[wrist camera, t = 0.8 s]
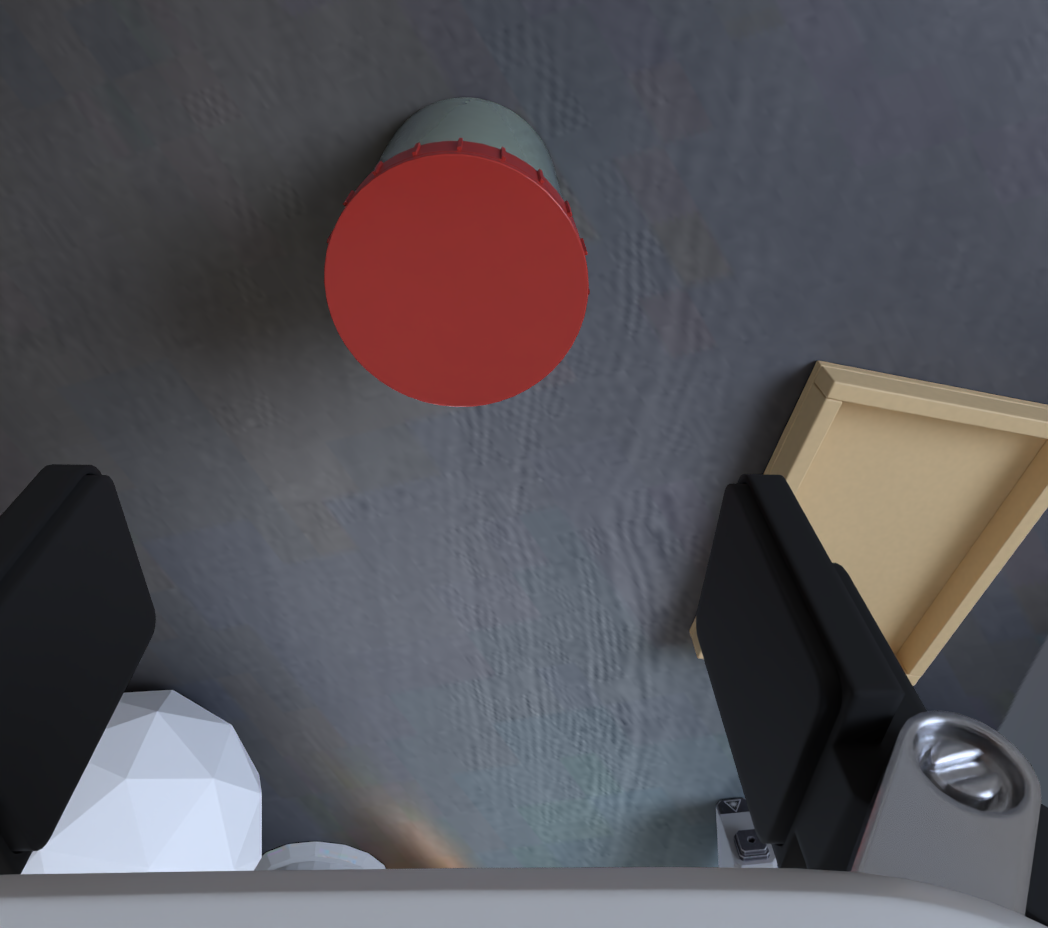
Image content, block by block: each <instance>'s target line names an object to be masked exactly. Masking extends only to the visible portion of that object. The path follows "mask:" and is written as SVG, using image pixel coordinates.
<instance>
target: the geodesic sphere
mask: <svg viewBox="0 0 1048 928" xmlns="http://www.w3.org/2000/svg"><path fill="white" fill-rule="evenodd" d="M261 858H262V792H261V785H260V778H259V773H258V771H257V770H256V768H255V766H254V764H253V762H252V760H251V759H250V757H249V755H248V753H247V751H246V750H245V748H244V746H243V744H242V742H241V740H240V739H239V737H238V735H237V733H236V731H235V729H234V728H233V726H232V725H231V724H229V723H227V722H226V721H224V720H222V719H221V718H219V717H217V716H216V715H214V714H212V713H211V712H209V711H207V710H206V709H204V708H202V707H201V706H199V705H197V704H196V703H194V702H192V701H191V700H189V699H187V698H186V697H184V696H182V695H181V694H179V693H177V692H176V691H174V690H160V691H143V692H127V693H123V695H122V697H121V699H120V701H119V703H118V705H117V707H116V709H115V711H114V713H113V715H112V717H111V719H110V721H109V723H108V725H107V727H106V729H105V731H104V733H103V735H102V737H101V739H100V741H99V743H98V745H97V747H96V749H95V751H94V753H93V755H92V757H91V759H90V761H89V763H88V765H87V767H86V769H85V770H84V772H83V774H82V776H81V778H80V780H79V782H78V784H77V786H76V788H75V790H74V792H73V794H72V796H71V798H70V800H69V802H68V804H67V806H66V808H65V810H64V812H63V814H62V816H61V818H60V820H59V822H58V824H57V826H56V828H55V830H54V832H53V834H52V836H51V838H50V839H49V841H48V843H47V844H46V845H45V846H44V847H43V848H42V849H40V850H39V851H33V852H32V853H31V855H30V857H29V859H28V861H27V863H26V865H25V867H24V869H23V871H22V873H21V874H70V873H131V872H192V871H254V869H255V868H256V866H257V864H258V863H259V861H260V859H261Z"/></svg>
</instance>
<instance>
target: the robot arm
mask: <svg viewBox="0 0 1048 928" xmlns="http://www.w3.org/2000/svg"><path fill="white" fill-rule="evenodd" d="M155 622H156V616H155V610H154V606H153V603H152V600H151V597H150V594H149V591H148V588H147V585H146V582H145V578H144V575H143V572H142V569H141V566H140V563H139V560H138V557H137V554H136V551H135V547H134V544H133V541H132V538H131V535H130V532H129V529H128V526H127V523H126V520H125V516H124V513H123V510H122V507H121V504H120V501H119V498H118V495H117V492H116V489H115V485H114V483H113V481H112V479H111V478H110V477H109V476H106V475H101V473H100V471H99V470H98V469H97V468H96V467H95V466H92V465H55V464H52V465H47V466H46V467H44V468H43V469H42V470H41V471H40V472H39V473H38V474H37V476H36V477H35V478H34V479H33V480H32V481H31V482H30V483H29V485H28V486H27V487H26V488H25V489H24V490H23V491H22V493H21V494H20V495H19V496H18V497H17V498H16V499H15V500H14V502H13V503H12V504H11V505H10V506H9V507H8V508H7V509H6V511H5V512H4V513H3V514H2V515H1V516H0V928H1048V808H1047V807H1046V806H1044V805H1042V804H1041V790H1040V782H1039V780H1038V778H1037V776H1036V774H1035V772H1034V770H1033V768H1032V765H1031V764H1030V763H1029V762H1028V760H1027V759H1026V758H1025V757H1024V756H1023V754H1022V753H1021V752H1020V751H1019V749H1018V748H1017V747H1016V746H1014V745H1013V744H1012V743H1011V742H1010V741H1009V740H1007V739H1006V738H1005V737H1004V736H1003V735H1001V734H1000V733H999V732H997V731H995V730H994V729H992V728H990V727H989V726H987V725H985V724H983V723H982V722H980V721H978V720H975V719H972V718H969V717H967V716H964V715H961V714H958V713H952V712H945V711H938V710H937V711H929V712H927V710H926V709H925V707H924V705H923V703H922V702H921V700H920V698H919V696H918V695H917V693H916V691H915V689H914V688H913V686H912V684H911V682H910V681H909V679H908V677H907V675H906V674H905V672H904V670H903V668H902V667H901V665H900V663H899V661H898V660H897V658H896V656H895V654H894V653H893V651H892V649H891V647H890V646H889V644H888V642H887V641H886V639H885V637H884V635H883V634H882V632H881V630H880V628H879V627H878V625H877V623H876V621H875V620H874V618H873V616H872V614H871V613H870V611H869V609H868V607H867V606H866V604H865V602H864V600H863V599H862V597H861V595H860V593H859V592H858V590H857V588H856V586H855V585H854V583H853V581H852V579H851V578H850V576H849V574H848V573H847V572H846V570H845V569H844V568H843V566H841V565H839V564H837V563H832V562H831V560H830V558H829V556H828V554H827V553H826V551H825V549H824V547H823V545H822V544H821V542H820V540H819V538H818V536H817V535H816V533H815V531H814V529H813V527H812V526H811V524H810V522H809V520H808V518H807V517H806V515H805V513H804V511H803V510H802V508H801V506H800V504H799V502H798V501H797V499H796V497H795V495H794V493H793V492H792V490H791V488H790V486H789V484H788V483H787V481H786V479H785V478H784V477H783V476H782V475H764V474H744V475H742V476H741V477H740V478H739V480H738V483H737V484H729V485H728V486H727V487H726V490H725V493H724V497H723V501H722V506H721V510H720V514H719V519H718V523H717V527H716V532H715V536H714V540H713V545H712V549H711V553H710V558H709V562H708V566H707V571H706V575H705V579H704V584H703V588H702V592H701V597H700V601H699V605H698V610H697V615H696V631H697V637H698V641H699V644H700V647H701V651H702V654H703V657H704V661H705V664H706V668H707V671H708V674H709V678H710V681H711V684H712V688H713V691H714V694H715V698H716V701H717V705H718V708H719V711H720V715H721V718H722V721H723V725H724V728H725V731H726V735H727V738H728V741H729V745H730V748H731V752H732V755H733V758H734V762H735V765H736V768H737V772H738V775H739V778H740V782H741V785H742V789H743V792H744V795H745V799H746V802H747V805H748V809H749V812H750V815H751V819H752V822H753V825H754V829H755V832H756V835H757V837H758V839H759V841H760V842H761V843H762V844H771V845H772V848H773V851H774V855H775V858H776V861H777V864H778V868H716V867H583V868H440V869H345V870H263V871H192V872H131V873H70V874H21V873H22V871H23V869H24V867H25V865H26V863H27V861H28V859H29V857H30V855H31V853H32V852H33V851H39V850H40V849H42V848H43V847H44V846H45V845H46V844H47V843H48V841H49V839H50V838H51V836H52V834H53V832H54V830H55V828H56V826H57V824H58V822H59V820H60V818H61V816H62V814H63V812H64V810H65V808H66V806H67V804H68V802H69V800H70V798H71V796H72V794H73V792H74V790H75V788H76V786H77V784H78V782H79V780H80V778H81V776H82V774H83V772H84V770H85V769H86V767H87V765H88V763H89V761H90V759H91V757H92V755H93V753H94V751H95V749H96V747H97V745H98V743H99V741H100V739H101V737H102V735H103V733H104V731H105V729H106V727H107V725H108V723H109V721H110V719H111V717H112V715H113V713H114V711H115V709H116V707H117V705H118V703H119V701H120V699H121V697H122V695H123V693H124V691H125V689H126V687H127V685H128V683H129V681H130V679H131V677H132V675H133V673H134V671H135V669H136V667H137V665H138V663H139V661H140V659H141V657H142V655H143V653H144V651H145V649H146V648H147V646H148V644H149V642H150V640H151V638H152V635H153V633H154V629H155Z"/></svg>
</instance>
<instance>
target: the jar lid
mask: <svg viewBox="0 0 1048 928" xmlns="http://www.w3.org/2000/svg"><path fill="white" fill-rule="evenodd" d="M343 205H344V206H346V207H345V208H344V210H343V212H342V213H341V215H340V217H339V218H338V221H337V223H336V225H335V227H334V229H333V231H332V233H331V234H330V236H329V238H328V239H327V243H329V244H328V247H327V252H326V259H325V266H324V285H325V292H326V300H327V303H328V307H329V311H330V314H331V317H332V320H333V322H334V324H335V327H336V329H337V331H338V333H339V335H340V337H341V338H342V340H343V342H344V344H345V345H346V347H347V348H348V349H349V351H350V352H351V353H352V355H353V356H354V357H355V359H356V360H357V361H358V362H359V363H360V364H361V365H362V366H363V367H364V368H365V369H366V370H367V371H368V372H370V373H371V374H372V375H373V376H374V377H376V378H377V379H378V380H379V381H381V382H383V383H384V384H386V385H387V386H389V387H390V388H392V389H394V390H396V391H398V392H400V393H402V394H404V395H406V396H408V397H411V398H414V399H417V400H420V401H423V402H427V403H431V404H436V405H442V406H451V407H471V406H480V405H487V404H491V403H495V402H499V401H502V400H505V399H508V398H510V397H513V396H516V395H517V394H519V393H521V392H523V391H525V390H527V389H529V388H531V387H532V386H533V385H535V384H536V383H538V382H539V381H541V380H542V379H543V378H544V377H546V376H547V375H548V374H549V373H550V372H551V371H552V370H553V369H554V368H555V367H556V366H557V365H558V364H559V363H560V362H561V360H562V359H563V358H564V357H565V355H566V354H567V352H568V351H569V349H570V348H571V346H572V345H573V343H574V341H575V339H576V337H577V335H578V333H579V330H580V328H581V325H582V322H583V319H584V316H585V311H586V306H587V301H588V295H589V292H590V291H589V287H588V286H589V284H588V269H587V264H586V259H585V255H587V250H586V247H585V244H584V240H583V238H581V239H580V237H579V233H578V231H577V228H576V225H575V222H574V219H573V217H572V212H571V209H570V205H569V203H568V201H565V202H564V201H563V199H562V198H561V196H560V195H559V193H558V192H557V190H556V189H555V188H554V187H553V186H552V185H551V184H550V183H549V182H548V180H547V179H546V178H545V177H544V176H543V172H542V170H540V169H538V171H537V170H535V169H534V168H533V167H532V166H531V165H529V164H527V163H526V162H524V161H523V160H521V159H519V158H518V157H516V156H514V155H512V154H510V153H508V152H506V148H504V147H501V149H499V148H495V147H492V146H488V145H485V144H481V143H475V142H468V141H463V138H459V139H458V141H441V142H433V143H427V144H424V145H420V142H418V143H416V144H415V147H413V148H410V149H408V150H406V151H404V152H401V153H399V154H397V155H395V156H393V157H392V158H390V159H389V160H387V161H385V162H384V163H383V162H382V161H379V162H378V164H377V165H376V167H375V169H374V171H373V172H371V173H370V174H369V175H368V176H367V177H366V179H365V180H364V181H363V182H362V183H361V184H360V185H359V186H358V188H357V189H356V191H355V192H354V191H353V190H351V192H350V193H349V195H348V197H347V198H346V200H345V202H344V203H343Z"/></svg>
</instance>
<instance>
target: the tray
mask: <svg viewBox="0 0 1048 928" xmlns="http://www.w3.org/2000/svg"><path fill="white" fill-rule="evenodd" d="M764 475H782V476H783V477H784V478H785V479H786V481H787V483H788V484H789V486H790V488H791V490H792V492H793V493H794V495H795V497H796V499H797V501H798V502H799V504H800V506H801V508H802V510H803V511H804V513H805V515H806V517H807V518H808V520H809V522H810V524H811V526H812V527H813V529H814V531H815V533H816V535H817V536H818V538H819V540H820V542H821V544H822V545H823V547H824V549H825V551H826V553H827V554H828V556H829V558H830V560H831V562H832V563H837V564H839V565H841V566H843V568H844V569H845V570H846V572H847V573H848V574H849V576H850V578H851V579H852V581H853V583H854V585H855V586H856V588H857V590H858V592H859V593H860V595H861V597H862V599H863V600H864V602H865V604H866V606H867V607H868V609H869V611H870V613H871V614H872V616H873V618H874V620H875V621H876V623H877V625H878V627H879V628H880V630H881V632H882V634H883V635H884V637H885V639H886V641H887V642H888V644H889V646H890V647H891V649H892V651H893V653H894V654H895V656H896V658H897V660H898V661H899V663H900V665H901V667H902V668H903V670H904V672H905V674H906V675H907V677H908V679H909V681H910V682H911V684H912V686H914V685H915V684H916V682H917V681H918V680H919V678H920V676H922V675H923V673H924V672H925V671H926V669H927V668H928V667H929V665H930V664H931V663H932V661H933V660H934V659H935V657H936V656H937V655H938V653H939V652H940V651H941V649H942V648H943V647H944V645H945V644H946V643H947V641H948V640H949V639H950V637H951V636H952V635H953V633H954V632H955V631H956V629H957V628H958V627H959V625H960V624H961V623H962V621H963V620H964V618H965V617H966V616H967V614H968V613H969V612H970V610H971V609H972V608H973V606H974V605H975V604H976V602H977V601H978V600H979V598H980V597H981V596H982V594H983V593H984V592H985V590H986V589H987V588H988V586H989V585H990V584H991V582H992V581H993V580H994V578H995V577H996V576H997V574H998V573H999V572H1000V570H1001V569H1002V568H1003V566H1004V565H1005V564H1006V562H1007V561H1008V560H1009V558H1010V557H1011V556H1012V554H1013V553H1014V552H1015V550H1016V549H1017V547H1018V546H1019V545H1020V543H1021V542H1022V541H1023V539H1024V538H1025V537H1026V535H1027V534H1028V533H1029V531H1030V530H1031V529H1032V527H1033V526H1034V525H1035V523H1036V522H1037V521H1038V519H1039V518H1040V517H1041V515H1042V514H1043V513H1044V511H1045V510H1046V509H1047V507H1048V405H1046V404H1041V403H1036V402H1030V401H1025V400H1020V399H1015V398H1010V397H1005V396H999V395H994V394H989V393H984V392H979V391H974V390H968V389H963V388H958V387H953V386H948V385H943V384H937V383H932V382H927V381H922V380H917V379H911V378H906V377H901V376H896V375H891V374H886V373H880V372H875V371H870V370H865V369H860V368H855V367H849V366H844V365H839V364H834V363H829V362H824V361H817V362H816V364H815V366H814V368H813V370H812V372H811V374H810V377H809V379H808V381H807V383H806V385H805V387H804V389H803V391H802V393H801V396H800V398H799V400H798V402H797V404H796V406H795V408H794V410H793V412H792V415H791V417H790V419H789V421H788V423H787V425H786V427H785V429H784V431H783V434H782V436H781V438H780V440H779V442H778V444H777V446H776V448H775V451H774V453H773V455H772V457H771V459H770V461H769V463H768V465H767V467H766V470H765V472H764ZM689 632H690V635H691V637H692V641H693V645H694V648H695V652H696V655H697V658H700V659H704V657H703V654H702V651H701V647H700V644H699V641H698V637H697V631H696V617H695V619H694V622H693V624H692V626H691V628H690V630H689Z"/></svg>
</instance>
